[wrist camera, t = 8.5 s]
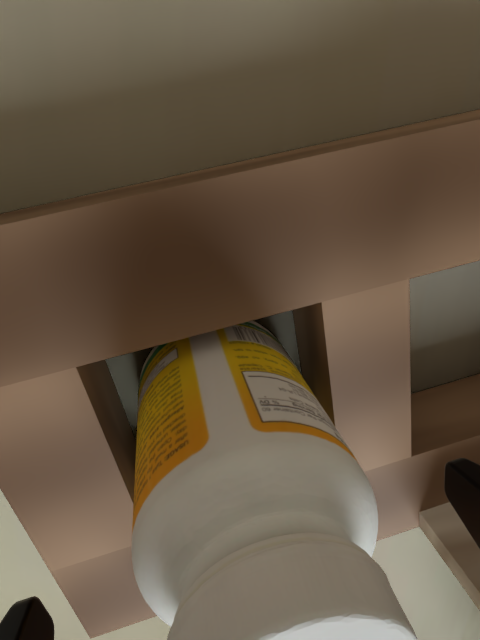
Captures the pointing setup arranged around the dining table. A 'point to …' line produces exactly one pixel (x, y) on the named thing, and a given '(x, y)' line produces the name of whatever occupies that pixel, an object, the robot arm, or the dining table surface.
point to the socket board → (227, 310)
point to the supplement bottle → (251, 501)
